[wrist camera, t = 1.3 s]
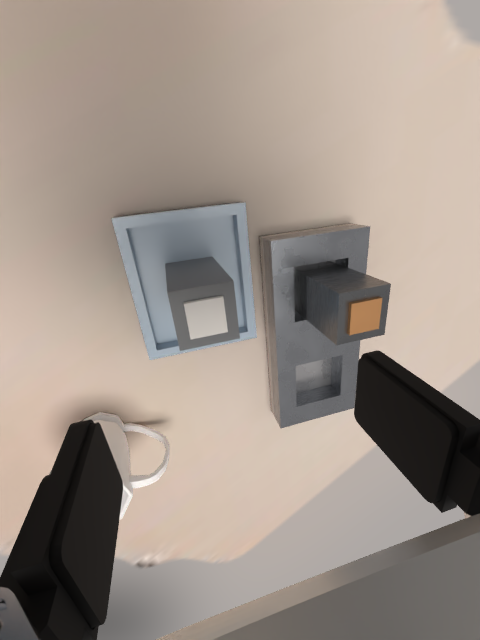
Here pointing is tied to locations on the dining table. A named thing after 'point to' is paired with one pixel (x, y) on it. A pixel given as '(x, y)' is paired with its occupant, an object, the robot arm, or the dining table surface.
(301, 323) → the grey socket
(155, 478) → the cup
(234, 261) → the tray
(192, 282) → the plug
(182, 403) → the dining table surface
